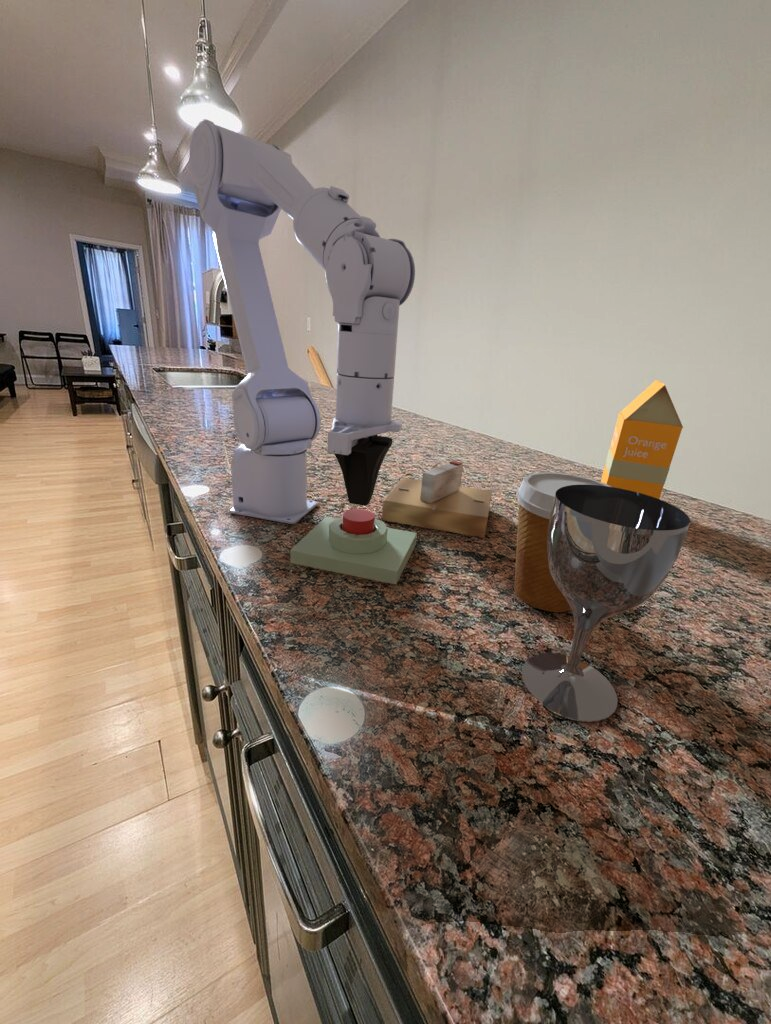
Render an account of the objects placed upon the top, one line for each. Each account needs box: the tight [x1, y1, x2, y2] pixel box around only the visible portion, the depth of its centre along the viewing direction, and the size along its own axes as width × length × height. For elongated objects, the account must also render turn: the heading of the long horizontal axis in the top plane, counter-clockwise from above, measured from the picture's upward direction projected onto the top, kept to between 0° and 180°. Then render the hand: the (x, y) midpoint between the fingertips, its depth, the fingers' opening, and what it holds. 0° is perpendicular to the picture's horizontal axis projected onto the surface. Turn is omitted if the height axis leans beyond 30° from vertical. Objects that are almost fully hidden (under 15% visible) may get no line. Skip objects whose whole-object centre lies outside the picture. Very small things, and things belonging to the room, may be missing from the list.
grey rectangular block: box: [420, 460, 464, 503], centre depth 63 cm, size 8×2×4 cm, turn 142°
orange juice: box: [600, 379, 684, 499], centre depth 69 cm, size 8×9×20 cm
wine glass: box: [521, 485, 691, 723], centre depth 32 cm, size 8×8×15 cm
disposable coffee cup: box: [513, 471, 611, 613], centre depth 44 cm, size 10×10×12 cm
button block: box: [289, 516, 418, 585], centre depth 51 cm, size 12×10×4 cm
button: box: [342, 508, 376, 535], centre depth 50 cm, size 4×4×2 cm
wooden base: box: [381, 477, 493, 538], centre depth 64 cm, size 14×12×3 cm
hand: (359, 502), depth 50 cm, fingers closed
